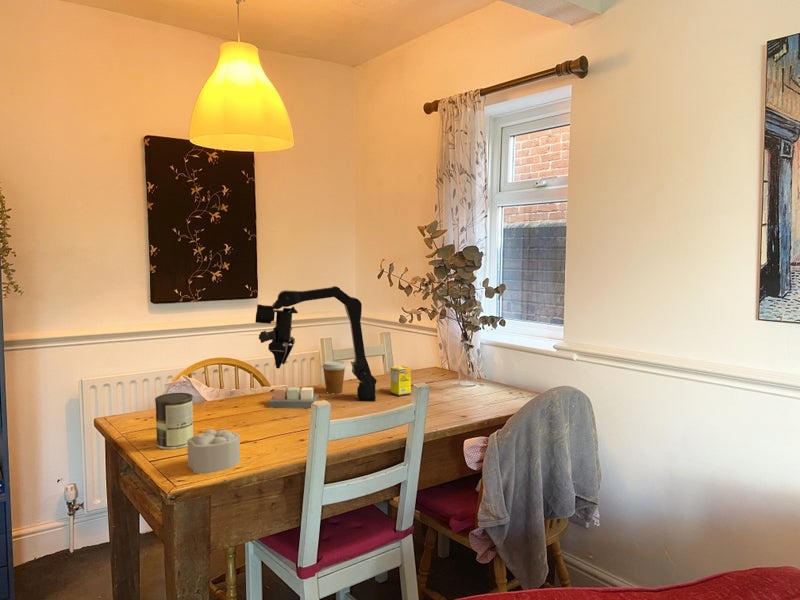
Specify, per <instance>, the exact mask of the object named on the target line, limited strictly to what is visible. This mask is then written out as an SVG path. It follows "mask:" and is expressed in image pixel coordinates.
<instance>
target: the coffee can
mask: <svg viewBox="0 0 800 600" xmlns="http://www.w3.org/2000/svg"><path fill="white" fill-rule="evenodd" d="M193 399H194V396H193V394H192V393H189V392H188V393H187V392H173V393H172V392H171V393H164V394H161V395H159V396H156V397H155V398H154V402H155V421H156V424H155V426H156V429H155V430H156V447H157V448H158V447H159V449H160V448H162V449H161V450H177V449H178V448H179V449H183V448H187V446H188V444H187V440H188V439H189V438H191V437H194V420H193V419H194V415H193V411H194V410H193Z"/></svg>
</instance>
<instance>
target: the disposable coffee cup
mask: <svg viewBox="0 0 800 600" xmlns="http://www.w3.org/2000/svg"><path fill="white" fill-rule="evenodd" d="M321 367H322V369H323V375H324V384H325V390H326V393H327V392H328V393H327V394H330V393H338V394H341V393H342V392H343V387H344V386H343V385H344V377H345V369H346V368H347V365H346V362H344V361H343V360H342V361H341V360H328V361H324V362H323V364H322V366H321ZM340 392H341V393H340Z"/></svg>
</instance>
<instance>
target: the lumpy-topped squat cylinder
mask: <svg viewBox="0 0 800 600" xmlns="http://www.w3.org/2000/svg"><path fill="white" fill-rule="evenodd" d="M240 436H241V435H240V434H239V433H237V432H234V431H230V430H228V429H221V430H219V431H218V430H217V431H216V430H214V429H211V428H210V429H209V428H208V429H206V430H204V432H203V433H197V434H195V435H193V437H191V438H189V439H188V440H187V444H188V446H187V447H186V448H187V467H188V466H189V467H190V468H189V467H188V468H189V469H191V471H192V470H193V471H192V472H193V473H194V472H195V473H194V474H196V473H199V474H198V475H204V473H206V474H211V473H216V472H219V471H225V470H228V469H232V468H234V467H236V466H237V465H238V464H239V463H240V462H241V443H240V442H241V440H240ZM200 473H202V474H200Z"/></svg>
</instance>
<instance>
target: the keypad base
mask: <svg viewBox="0 0 800 600" xmlns="http://www.w3.org/2000/svg"><path fill="white" fill-rule="evenodd" d="M318 399H319V395H318V394H313V399H312V400H301V394H300V399H299V400H287V398H286V399H274V395H273V396H272V397H271V398H269V401H268V409H269V408H270V409H271V408H272V409H311V408H310V407H311V404H312V403H313V402H314V401H317V400H318ZM318 401H319V400H318ZM318 401H317V402H318Z"/></svg>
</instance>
